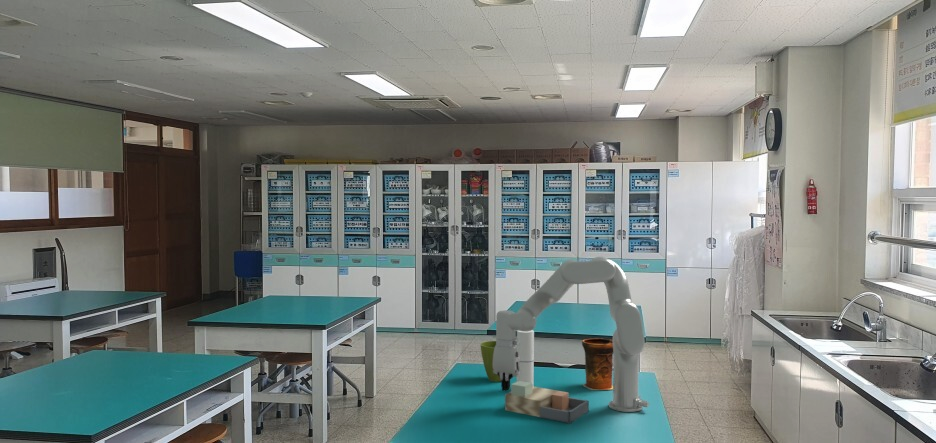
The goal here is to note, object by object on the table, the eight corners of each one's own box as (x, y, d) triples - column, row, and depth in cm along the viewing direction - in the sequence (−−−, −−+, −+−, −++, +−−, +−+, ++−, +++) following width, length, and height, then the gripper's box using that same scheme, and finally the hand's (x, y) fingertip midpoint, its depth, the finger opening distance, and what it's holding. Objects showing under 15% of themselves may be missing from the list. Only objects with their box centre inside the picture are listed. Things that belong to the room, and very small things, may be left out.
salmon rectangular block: (559, 406, 258) (568, 408, 256) (552, 410, 253) (561, 412, 251) (559, 390, 258) (568, 392, 255) (552, 394, 253) (562, 396, 250)
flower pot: (475, 376, 303) (475, 341, 302) (506, 374, 307) (506, 339, 307) (486, 385, 289) (486, 348, 288) (518, 382, 293) (518, 346, 293)
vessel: (590, 392, 278) (591, 344, 278) (576, 384, 292) (576, 338, 292) (621, 390, 282) (622, 342, 282) (606, 382, 296) (606, 337, 296)
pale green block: (532, 393, 255) (532, 383, 255) (525, 397, 250) (525, 386, 250) (518, 391, 259) (518, 380, 259) (511, 394, 254) (511, 384, 254)
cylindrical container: (527, 393, 277) (528, 333, 276) (513, 390, 282) (513, 331, 281) (536, 389, 283) (537, 330, 282) (522, 386, 287) (522, 328, 287)
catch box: (588, 411, 253) (588, 400, 253) (569, 423, 239) (569, 412, 239) (559, 405, 260) (559, 395, 260) (539, 417, 245) (539, 406, 245)
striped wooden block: (559, 406, 259) (559, 390, 259) (540, 417, 246) (540, 401, 246) (525, 399, 267) (525, 385, 267) (505, 410, 254) (505, 394, 254)
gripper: (527, 343, 257) (527, 390, 257) (494, 339, 265) (494, 384, 266) (518, 347, 251) (517, 395, 251) (484, 342, 259) (484, 389, 259)
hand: (505, 389), depth 258 cm, fingers closed
